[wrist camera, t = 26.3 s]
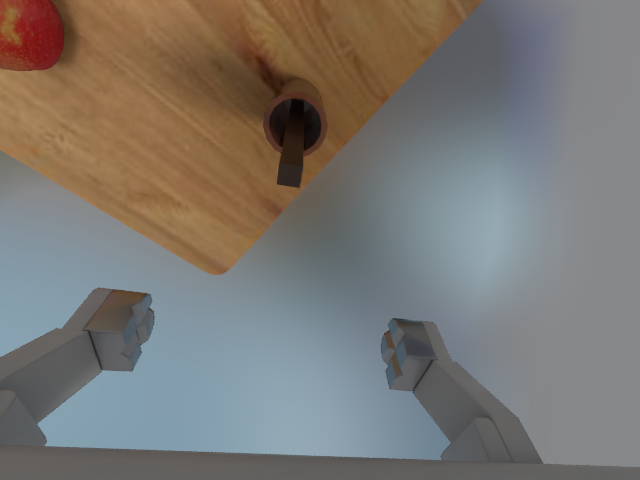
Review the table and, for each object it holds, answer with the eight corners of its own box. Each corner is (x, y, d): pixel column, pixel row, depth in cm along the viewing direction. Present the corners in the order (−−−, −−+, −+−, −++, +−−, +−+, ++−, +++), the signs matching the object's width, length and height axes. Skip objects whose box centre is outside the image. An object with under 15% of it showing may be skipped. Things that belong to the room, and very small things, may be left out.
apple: (82, 4, 33) (27, -2, 26) (77, 82, 37) (28, 94, 30) (-7, -42, 31) (-92, -61, 24) (-1, 47, 35) (-73, 51, 28)
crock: (326, 83, 38) (332, 99, 30) (317, 135, 42) (320, 161, 33) (275, 73, 37) (266, 85, 29) (269, 126, 41) (261, 151, 33)
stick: (304, 101, 39) (303, 166, 21) (302, 115, 40) (299, 188, 21) (291, 99, 38) (279, 162, 20) (289, 112, 39) (276, 184, 21)
